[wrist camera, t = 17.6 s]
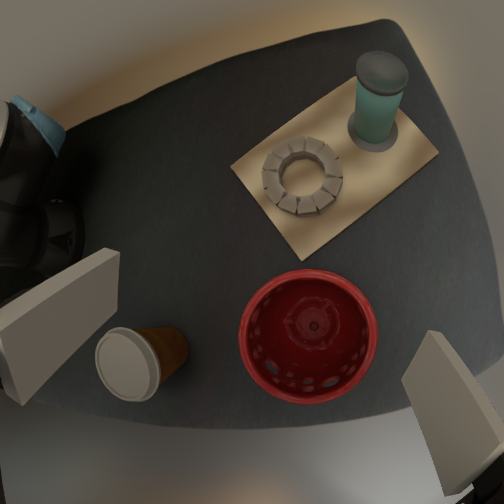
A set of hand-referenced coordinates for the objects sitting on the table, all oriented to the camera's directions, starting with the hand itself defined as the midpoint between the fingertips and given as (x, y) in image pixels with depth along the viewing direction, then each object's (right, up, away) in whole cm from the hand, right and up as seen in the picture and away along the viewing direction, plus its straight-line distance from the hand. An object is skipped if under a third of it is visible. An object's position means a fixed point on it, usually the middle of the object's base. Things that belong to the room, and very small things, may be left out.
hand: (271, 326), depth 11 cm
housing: (+10, +15, +26) cm, 32 cm away
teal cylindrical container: (+15, +19, +24) cm, 34 cm away
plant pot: (+7, -6, +26) cm, 28 cm away
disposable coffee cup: (-13, -11, +31) cm, 36 cm away
